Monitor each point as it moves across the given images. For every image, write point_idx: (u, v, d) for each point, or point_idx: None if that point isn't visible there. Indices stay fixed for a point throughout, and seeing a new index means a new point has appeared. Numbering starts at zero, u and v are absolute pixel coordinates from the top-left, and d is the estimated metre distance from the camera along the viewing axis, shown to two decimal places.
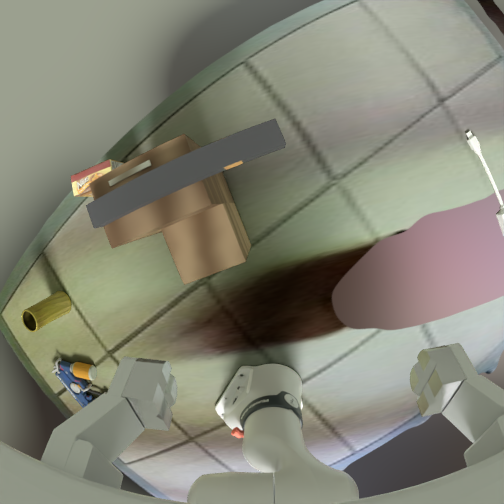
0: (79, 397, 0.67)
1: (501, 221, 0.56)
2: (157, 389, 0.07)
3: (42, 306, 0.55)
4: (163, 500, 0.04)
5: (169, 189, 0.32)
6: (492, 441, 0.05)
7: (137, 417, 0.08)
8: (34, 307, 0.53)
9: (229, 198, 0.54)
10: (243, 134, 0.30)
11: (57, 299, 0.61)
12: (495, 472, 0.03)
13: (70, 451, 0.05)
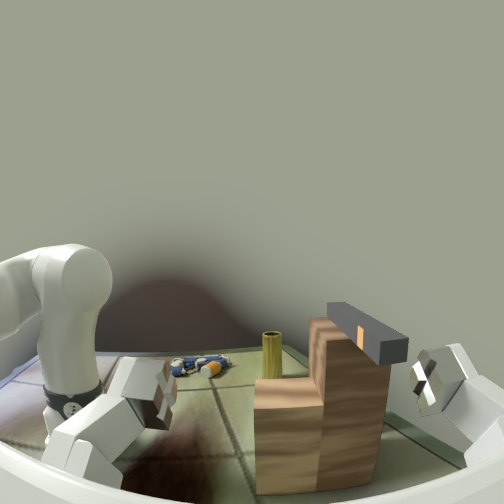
0: (193, 358, 0.96)
1: None
2: (157, 389, 0.07)
3: (277, 350, 0.83)
4: (163, 500, 0.04)
5: (344, 314, 0.38)
6: (492, 441, 0.05)
7: (137, 417, 0.08)
8: (279, 342, 0.83)
9: (324, 466, 0.35)
10: (389, 329, 0.29)
11: (277, 368, 0.82)
12: (495, 472, 0.03)
13: (70, 451, 0.05)
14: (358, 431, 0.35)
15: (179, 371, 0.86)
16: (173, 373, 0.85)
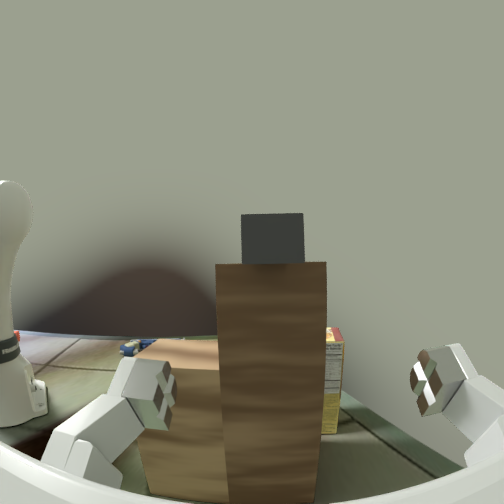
0: (150, 340, 0.87)
1: None
2: (157, 389, 0.07)
3: None
4: (163, 500, 0.04)
5: None
6: (492, 441, 0.05)
7: (137, 417, 0.08)
8: None
9: (234, 468, 0.24)
10: None
11: None
12: (495, 472, 0.03)
13: (70, 451, 0.05)
14: (281, 420, 0.24)
15: (131, 351, 0.76)
16: (125, 353, 0.76)
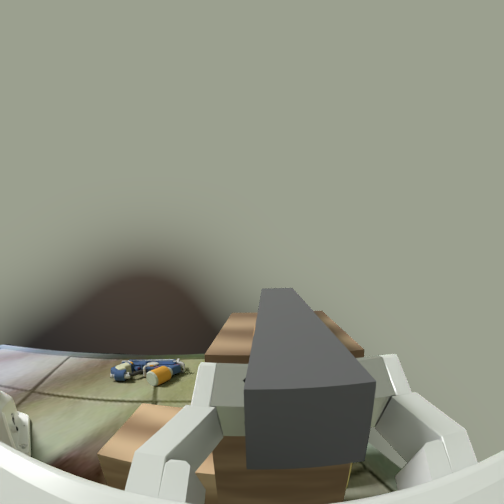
0: (143, 361, 0.79)
1: None
2: None
3: None
4: (163, 500, 0.04)
5: (261, 303, 0.19)
6: (418, 469, 0.05)
7: (219, 425, 0.07)
8: None
9: None
10: (327, 341, 0.10)
11: None
12: (495, 472, 0.03)
13: (162, 474, 0.05)
14: None
15: (122, 375, 0.69)
16: (115, 377, 0.68)
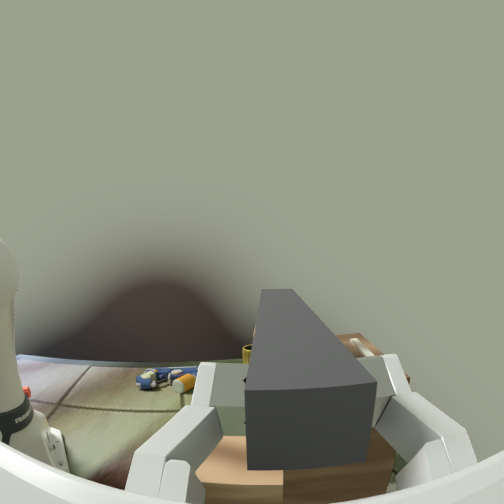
0: (167, 369, 0.83)
1: None
2: None
3: None
4: (163, 500, 0.04)
5: (261, 304, 0.19)
6: (418, 469, 0.05)
7: (219, 425, 0.07)
8: None
9: None
10: (327, 342, 0.10)
11: None
12: (495, 472, 0.03)
13: (162, 474, 0.05)
14: None
15: (148, 384, 0.72)
16: (142, 386, 0.72)
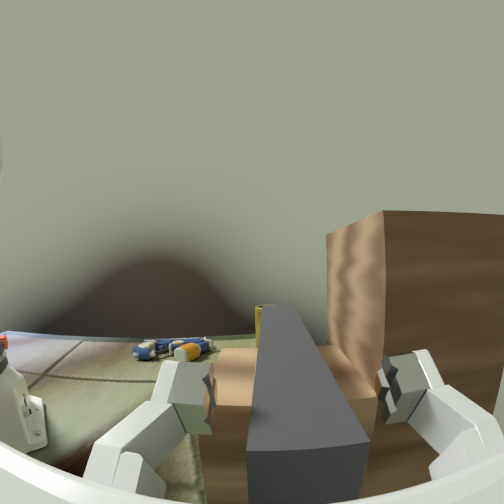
0: (167, 340, 0.77)
1: None
2: (205, 393, 0.07)
3: None
4: (163, 500, 0.04)
5: (261, 329, 0.19)
6: (455, 457, 0.05)
7: (181, 422, 0.07)
8: None
9: None
10: (326, 386, 0.10)
11: None
12: (495, 472, 0.03)
13: (117, 465, 0.05)
14: None
15: (147, 353, 0.67)
16: (139, 356, 0.66)
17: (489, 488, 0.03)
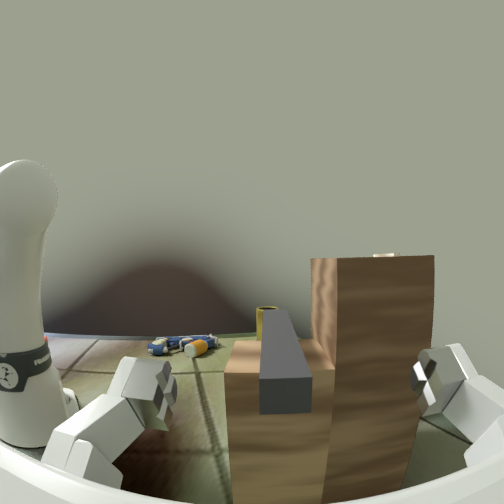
0: (177, 337, 0.88)
1: None
2: (157, 389, 0.07)
3: None
4: (163, 500, 0.04)
5: (263, 327, 0.29)
6: (492, 441, 0.05)
7: (137, 417, 0.08)
8: None
9: (334, 469, 0.22)
10: (298, 356, 0.20)
11: None
12: (495, 472, 0.03)
13: (70, 451, 0.05)
14: (387, 413, 0.22)
15: (160, 349, 0.77)
16: (154, 351, 0.77)
17: (489, 488, 0.03)
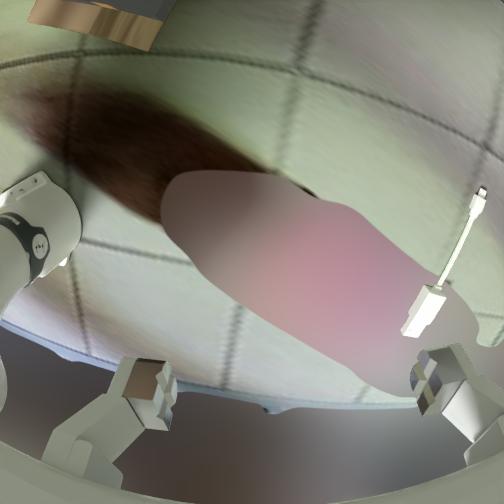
0: None
1: (421, 296, 0.51)
2: (157, 389, 0.07)
3: None
4: (163, 500, 0.04)
5: None
6: (492, 441, 0.05)
7: (137, 417, 0.08)
8: None
9: None
10: None
11: None
12: (495, 472, 0.03)
13: (70, 451, 0.05)
14: None
15: None
16: None
17: (489, 488, 0.03)
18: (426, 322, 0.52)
